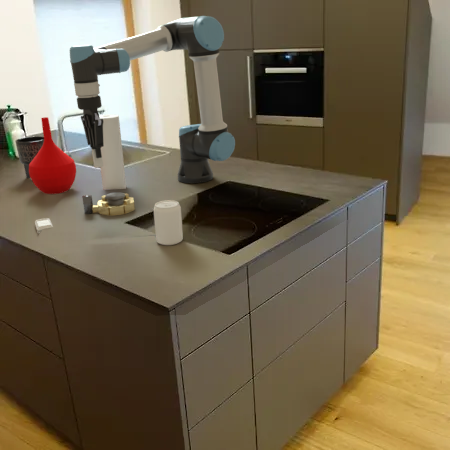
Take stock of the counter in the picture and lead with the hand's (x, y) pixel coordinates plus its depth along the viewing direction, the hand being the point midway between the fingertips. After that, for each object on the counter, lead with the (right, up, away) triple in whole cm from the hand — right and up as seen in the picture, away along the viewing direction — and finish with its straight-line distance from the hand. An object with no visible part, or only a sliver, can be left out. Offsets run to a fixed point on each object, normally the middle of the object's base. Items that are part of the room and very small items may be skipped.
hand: (98, 166), depth 176 cm
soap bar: (-17, -22, -3) cm, 28 cm away
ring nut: (+2, -15, +7) cm, 16 cm away
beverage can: (+26, -25, -18) cm, 40 cm away
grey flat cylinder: (+2, -16, +7) cm, 18 cm away
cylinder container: (-3, -5, +38) cm, 38 cm away
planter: (-41, +1, +57) cm, 71 cm away
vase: (-27, -6, +37) cm, 46 cm away
